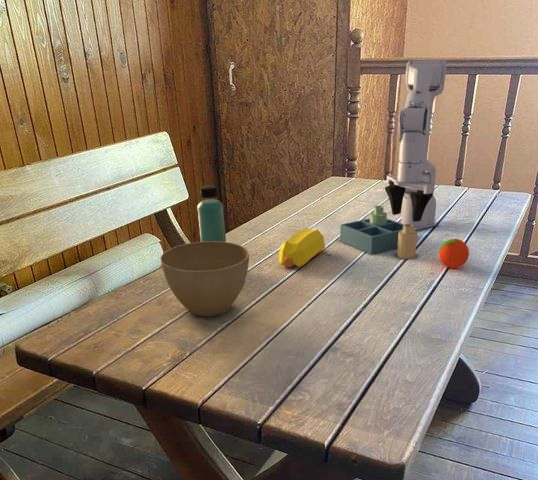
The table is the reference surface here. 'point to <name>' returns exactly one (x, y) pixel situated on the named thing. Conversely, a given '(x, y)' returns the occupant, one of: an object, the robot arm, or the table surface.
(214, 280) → the brown bowl
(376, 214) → the mint bottle
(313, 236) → the yellow faceted toy car
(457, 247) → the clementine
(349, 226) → the carrier
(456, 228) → the table surface
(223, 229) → the beverage bottle
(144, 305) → the table surface
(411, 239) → the cream bottle
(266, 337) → the table surface
